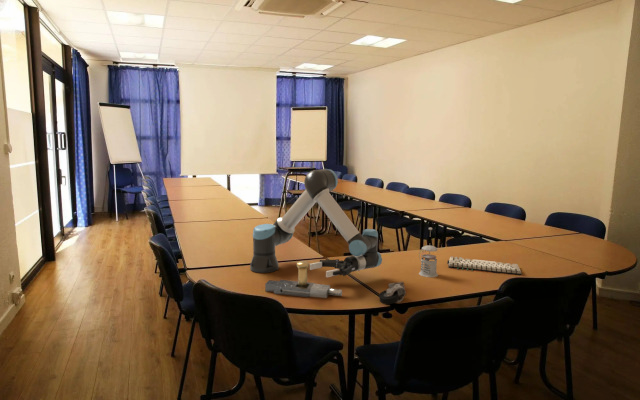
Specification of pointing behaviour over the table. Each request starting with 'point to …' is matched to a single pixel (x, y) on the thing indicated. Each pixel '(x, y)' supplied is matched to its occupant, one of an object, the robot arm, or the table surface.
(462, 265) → the mechanical keyboard
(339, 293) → the clevis
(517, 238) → the table surface
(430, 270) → the french press
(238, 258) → the table surface
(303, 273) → the clevis pin
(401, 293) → the caster wheel
